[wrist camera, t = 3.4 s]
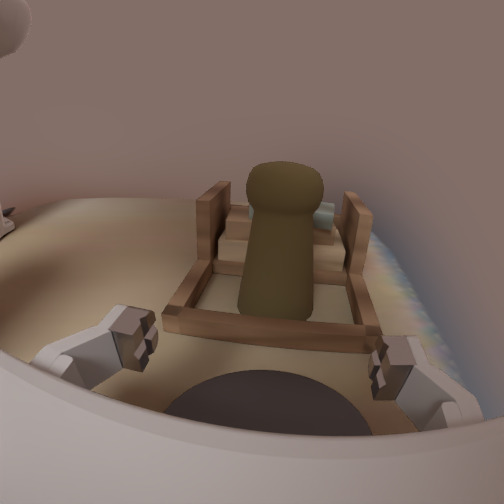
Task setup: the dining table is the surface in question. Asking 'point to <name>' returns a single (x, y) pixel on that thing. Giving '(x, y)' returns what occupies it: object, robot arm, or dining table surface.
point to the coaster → (270, 405)
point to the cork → (280, 241)
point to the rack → (324, 271)
